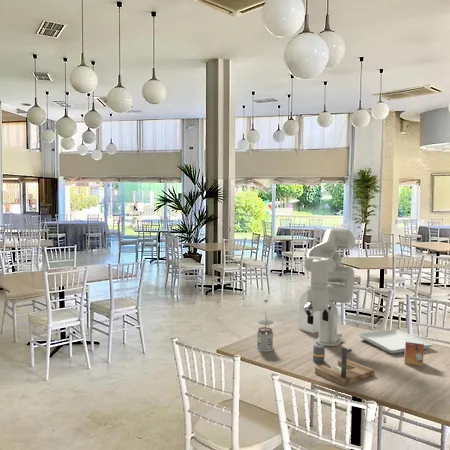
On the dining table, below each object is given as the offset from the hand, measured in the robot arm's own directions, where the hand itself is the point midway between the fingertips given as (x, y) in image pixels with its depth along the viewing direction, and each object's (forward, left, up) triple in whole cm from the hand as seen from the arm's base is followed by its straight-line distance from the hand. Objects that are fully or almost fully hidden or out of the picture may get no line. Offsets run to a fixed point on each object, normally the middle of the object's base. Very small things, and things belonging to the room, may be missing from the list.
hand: (317, 322), depth 208 cm
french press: (+8, -27, -19) cm, 34 cm away
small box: (-37, +27, -19) cm, 49 cm away
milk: (-36, -37, -19) cm, 55 cm away
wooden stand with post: (+1, +18, -19) cm, 26 cm away
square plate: (-53, +6, -19) cm, 56 cm away
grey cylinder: (-1, +1, -19) cm, 19 cm away
